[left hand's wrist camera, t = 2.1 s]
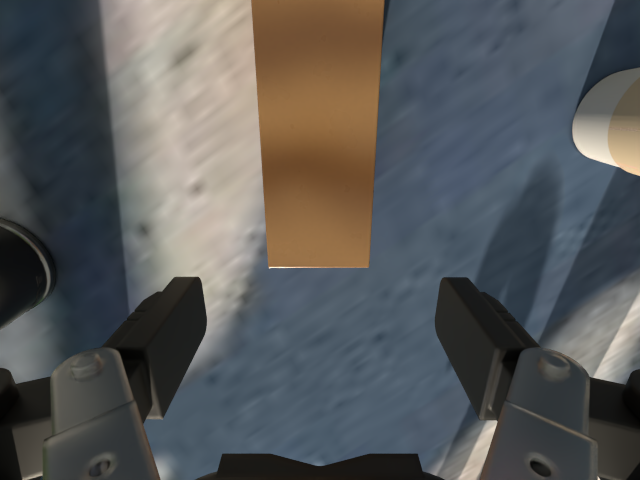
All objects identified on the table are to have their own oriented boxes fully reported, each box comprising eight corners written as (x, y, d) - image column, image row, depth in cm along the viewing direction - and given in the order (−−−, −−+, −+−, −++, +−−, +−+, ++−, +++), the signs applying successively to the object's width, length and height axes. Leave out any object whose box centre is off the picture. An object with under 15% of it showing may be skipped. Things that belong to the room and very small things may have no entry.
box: (352, 215, 31) (369, 267, 21) (284, 216, 31) (268, 268, 21) (363, -89, 23) (398, -233, 13) (270, -90, 23) (236, -234, 13)
